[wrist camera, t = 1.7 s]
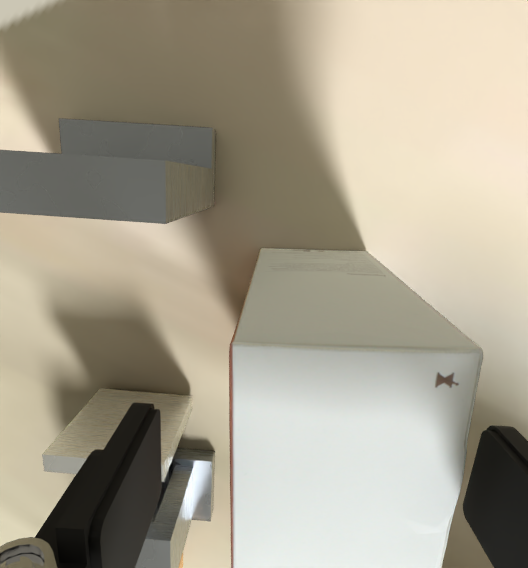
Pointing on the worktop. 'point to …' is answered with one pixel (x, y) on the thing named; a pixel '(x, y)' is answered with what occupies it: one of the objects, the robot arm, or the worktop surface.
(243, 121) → the worktop surface
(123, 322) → the worktop surface
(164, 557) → the guide block
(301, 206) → the worktop surface
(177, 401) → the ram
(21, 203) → the plate
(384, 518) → the small box
